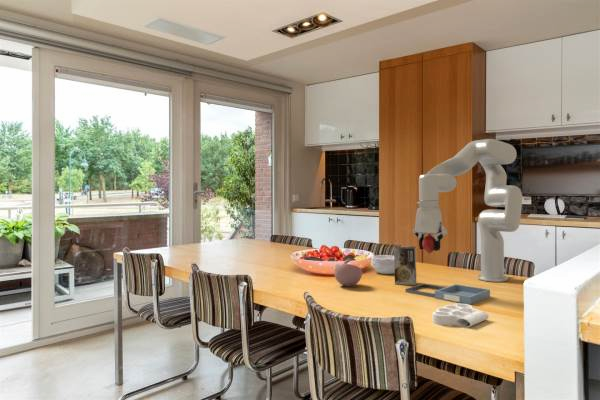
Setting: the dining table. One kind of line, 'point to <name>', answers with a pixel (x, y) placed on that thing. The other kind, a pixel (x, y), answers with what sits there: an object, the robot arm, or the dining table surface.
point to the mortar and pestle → (347, 274)
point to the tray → (462, 294)
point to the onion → (428, 243)
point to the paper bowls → (383, 264)
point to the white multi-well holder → (458, 315)
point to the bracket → (413, 290)
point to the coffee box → (405, 265)
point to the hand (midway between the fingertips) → (429, 249)
